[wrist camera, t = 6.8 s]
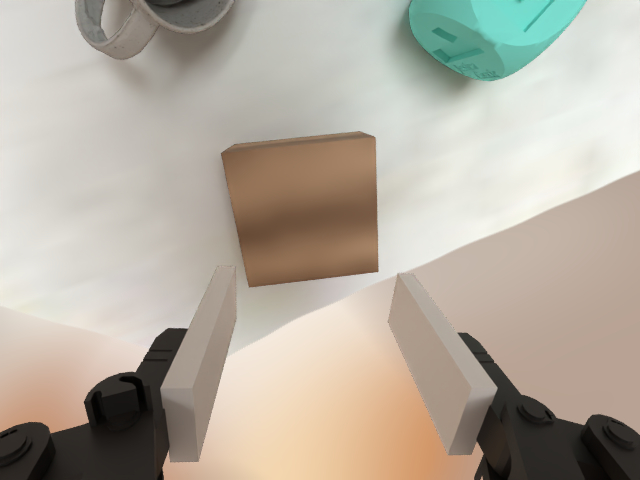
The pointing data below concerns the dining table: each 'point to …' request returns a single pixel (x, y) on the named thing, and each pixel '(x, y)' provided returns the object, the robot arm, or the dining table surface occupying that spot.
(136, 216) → the dining table surface
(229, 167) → the base block
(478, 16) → the decorative dice
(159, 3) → the ceramic mug
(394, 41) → the dining table surface
